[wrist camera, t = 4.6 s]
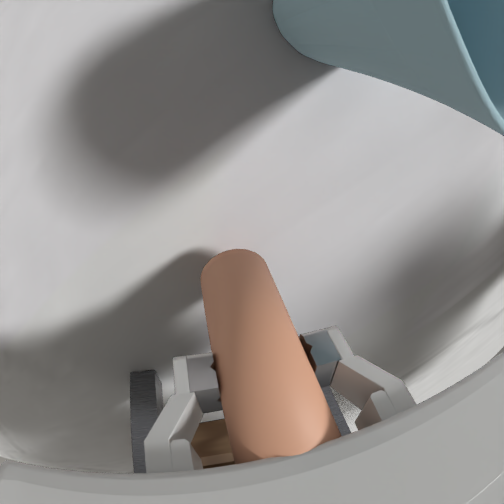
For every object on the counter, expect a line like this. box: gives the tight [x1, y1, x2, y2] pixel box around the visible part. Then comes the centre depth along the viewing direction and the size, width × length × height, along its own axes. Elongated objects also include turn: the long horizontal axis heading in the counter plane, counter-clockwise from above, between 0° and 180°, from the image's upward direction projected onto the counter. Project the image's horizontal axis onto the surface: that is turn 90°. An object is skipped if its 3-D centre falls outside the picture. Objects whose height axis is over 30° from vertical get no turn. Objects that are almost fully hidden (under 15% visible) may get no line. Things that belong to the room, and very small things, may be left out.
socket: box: [191, 419, 235, 469], centre depth 29 cm, size 12×12×4 cm
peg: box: [200, 249, 342, 464], centre depth 11 cm, size 3×3×10 cm
